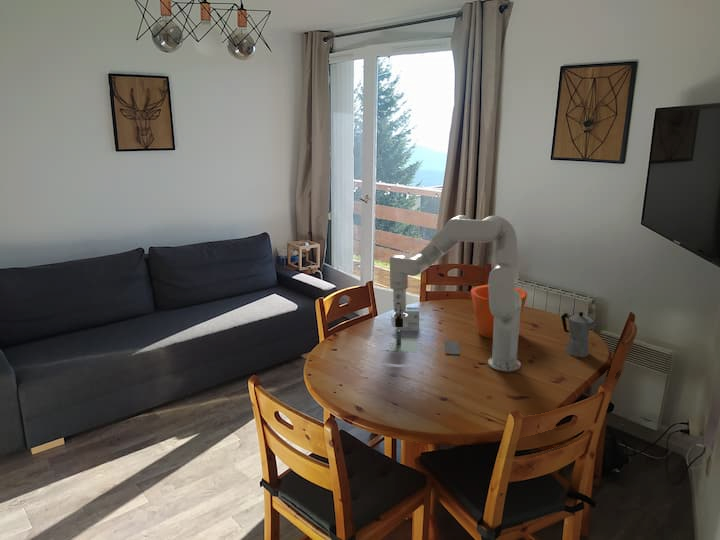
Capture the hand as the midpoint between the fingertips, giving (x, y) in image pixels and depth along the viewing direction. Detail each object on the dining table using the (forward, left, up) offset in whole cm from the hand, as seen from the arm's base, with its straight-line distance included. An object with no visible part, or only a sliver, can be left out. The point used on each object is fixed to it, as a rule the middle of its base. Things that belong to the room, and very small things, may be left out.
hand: (399, 323), depth 223 cm
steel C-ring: (0, 0, -1) cm, 1 cm away
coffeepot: (+1, -74, -11) cm, 74 cm away
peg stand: (0, 0, -11) cm, 11 cm away
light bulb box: (+20, -3, -11) cm, 23 cm away
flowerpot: (+20, -44, -11) cm, 49 cm away
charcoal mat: (0, -19, -11) cm, 21 cm away
